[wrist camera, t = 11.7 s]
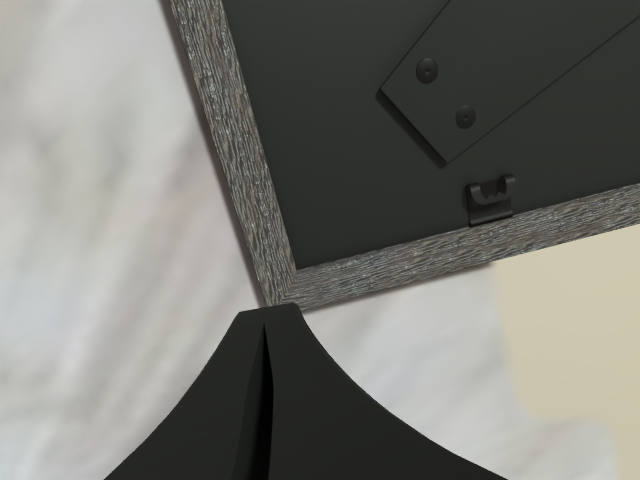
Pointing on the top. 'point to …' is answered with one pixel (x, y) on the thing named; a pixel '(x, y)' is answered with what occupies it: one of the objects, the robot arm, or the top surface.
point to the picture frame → (415, 132)
